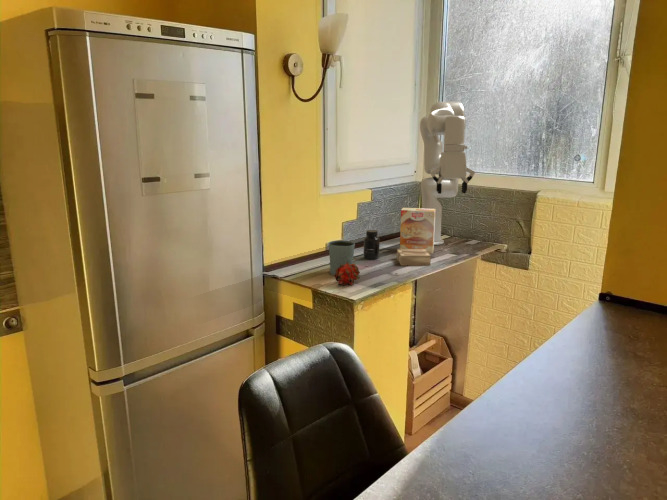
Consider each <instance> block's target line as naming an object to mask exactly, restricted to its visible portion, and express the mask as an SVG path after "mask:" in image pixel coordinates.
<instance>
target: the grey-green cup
mask: <svg viewBox="0 0 667 500" xmlns="http://www.w3.org/2000/svg"><path fill="white" fill-rule="evenodd" d="M355 246H356V244H355V242H354V241H350V240H343V239H342V240H338V239H337V240H331V241H329V242H328V251H329V252H328V253H329V268H330V269H329V273H330V275H332V276H335V274H336V269H337V268H339V267H340V265H346V262H348V263H349V264H350V265H351V264H352V263H353V264H354V257H355V255H354V254H355V248H356V247H355Z"/></svg>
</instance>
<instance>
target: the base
mask: <svg viewBox="0 0 667 500" xmlns="http://www.w3.org/2000/svg"><path fill="white" fill-rule="evenodd" d="M431 255H432V254H429V253H428V252H427V251H426V250H425V249H400V248H397V249H396V259H397V261H398V262H399V264H400V266H407V265H408V266H431V260H432V258H431Z"/></svg>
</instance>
